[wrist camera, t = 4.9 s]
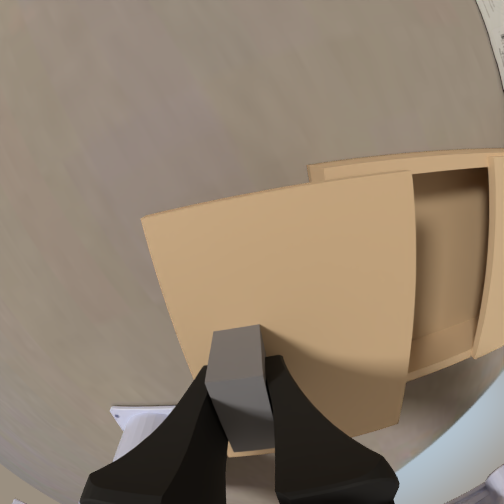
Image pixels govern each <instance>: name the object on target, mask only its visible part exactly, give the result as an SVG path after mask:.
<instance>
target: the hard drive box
mask: <svg viewBox="0 0 504 504" xmlns="http://www.w3.org/2000/svg"><path fill="white" fill-rule="evenodd" d="M476 2H477V4H478V7H479V9H480V12H481V14H482V17H483V19H484V22H485V25H486V28H487V31H488V34H489V37H490V42H491V45H492V48H493V52H494V55H495V58H496V61H497V64H498V68H499V72H500V76H501V80H502V85H503V89H504V0H476Z"/></svg>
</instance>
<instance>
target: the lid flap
mask: <svg viewBox="0 0 504 504" xmlns="http://www.w3.org/2000/svg"><path fill="white" fill-rule="evenodd" d="M141 222H142V226H143V229H144V233H145V237H146V240H147V244H148V247H149V251H150V254H151V258H152V261H153V264H154V268H155V271H156V274H157V278H158V281H159V284H160V287H161V290H162V293H163V296H164V299H165V302H166V305H167V308H168V311H169V314H170V317H171V320H172V323H173V326H174V329H175V331H176V334H177V337H178V340H179V342H180V345H181V348H182V350H183V353H184V356H185V358H186V361H187V363H188V366H189V369H190V371H191V374H192V376H193V379H195V378H196V376H197V374H198V373H199V371H200V370H201V368H202V367H203V366H204V365H208V366H207V371H206V377H205V385H206V388H207V390H208V393H209V395H210V398H211V400H212V403H213V405H214V408H215V410H216V412H217V415H218V417H219V420H220V422H221V424H222V427H223V429H224V431H225V434H226V436H227V438H228V440H229V441H228V450H227V455H228V457H240V456H251V455H260V454H268V453H275V437H274V418H273V407H272V401H271V397H270V393H269V388H268V384H267V379H266V374H265V357H268V356H274V355H281V356H283V359H284V362H285V364H286V366H287V368H288V370H289V372H290V374H291V376H292V377H293V379H294V380H295V382H296V383H297V385H298V386H299V388H300V389H301V390H302V392H303V393H304V394H305V396H306V397H307V398H308V399H309V400H310V402H311V403H312V404H313V405H314V406H315V407H316V408H317V409H318V410H319V411H320V412H321V413H322V414H323V415H324V416H325V417H326V418H327V419H328V420H329V421H330V422H331V423H332V424H334V425H335V426H336V427H337V428H339V429H340V430H341V431H343V432H344V433H345V434H347V435H348V436H349V437H355V436H359V435H362V434H366V433H370V432H373V431H376V430H380V429H383V428H386V427H389V426H392V425H395V424H398V422H399V417H400V412H401V407H402V402H403V397H404V391H405V385H406V379H407V373H408V366H409V358H410V350H411V342H412V332H413V320H414V307H415V287H416V224H415V204H414V190H413V179H412V171H410V170H397V171H388V172H380V173H373V174H365V175H358V176H350V177H343V178H337V179H330V180H323V181H317V182H311V183H305V184H299V185H293V186H287V187H281V188H275V189H270V190H264V191H259V192H254V193H248V194H243V195H238V196H233V197H228V198H223V199H218V200H213V201H208V202H204V203H199V204H194V205H190V206H185V207H181V208H176V209H172V210H168V211H163V212H159V213H155V214H151V215H146V216H145V217H143V218H142V219H141Z"/></svg>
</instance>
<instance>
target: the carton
mask: <svg viewBox="0 0 504 504" xmlns="http://www.w3.org/2000/svg"><path fill="white" fill-rule="evenodd" d="M397 170H410V171H412V179H413V190H414V204H415V224H416V287H415V307H414V320H413V332H412V342H411V350H410V358H409V366H408V373H407V379H406V382H408V381H411V380H413V379H416V378H419V377H422V376H425V375H427V374H430V373H433V372H435V371H438V370H441V369H443V368H446V367H448V366H451V365H453V364H455V363H458V362H460V361H463V360H465V359H467V358H469V357H473V358H474V359H477V358H479V357H481V356H484V355H486V354H488V353H490V352H492V351H494V350H496V349H498V348H500V347H502V346H504V148H482V149H456V150H439V151H424V152H411V153H400V154H390V155H380V156H371V157H362V158H354V159H346V160H338V161H331V162H324V163H317V164H310V165H307V171H308V177H309V183H311V182H317V181H323V180H330V179H337V178H343V177H350V176H358V175H365V174H373V173H380V172H388V171H397Z"/></svg>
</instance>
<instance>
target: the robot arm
mask: <svg viewBox="0 0 504 504" xmlns="http://www.w3.org/2000/svg"><path fill="white" fill-rule="evenodd" d="M207 366H208V365H204V366H203V367H202V368H201V370H200V371H199V373H198V374H197V376H196V378H195V379H194V381H193V382H192V384H191V385H190V387H189V388H188V390H187V391H186V393H185V394H184V396H183V397H182V398H181V400H180V401H179V403H178V404H177V405H176V406H140V407H129V406H112V407H111V409H110V412H111V414H112V415H113V417H114V418H115V420H116V421H117V423H118V424H119V426H120V427H121V429H122V430H123V431H124V432H123V435H122V437H121V440H120V443H119V445H118V448H117V451H116V454H115V456H114V459H113V462H112V463H111V464H109V465H107V466H105V467H103V468H101V469H99V470H97V471H95V472H93V473H91V474H90V475H89V477H88V480H87V482H86V485H85V487H84V490H83V493H82V495H81V498H80V501H79V503H78V504H226V480H225V471H226V459H227V450H228V441H229V440H228V438H227V436H226V434H225V431H224V429H223V427H222V424H221V422H220V420H219V417H218V415H217V412H216V410H215V408H214V405H213V403H212V400H211V398H210V395H209V393H208V390H207V388H206V385H205V377H206V371H207ZM265 374H266V379H267V384H268V388H269V393H270V397H271V401H272V407H273V418H274V437H275V492H276V495H277V497H278V500H279V503H280V504H395V503H394V500H393V499H394V497H395V495H396V492H397V490H398V488H399V481H398V478H397V476H396V474H395V472H394V471H393V469H392V468H391V466H390V465H389V463H388V462H387V461H386V460H385V458H384V457H383V456H382V455H380V454H378V453H376V452H374V451H372V450H370V449H368V448H367V447H365V446H363V445H362V444H360V443H358V442H357V441H355V440H354V439H352V438H351V437H349V436H348V435H347V434H345V433H344V432H343V431H341V430H340V429H339V428H337V427H336V426H335V425H334V424H332V423H331V422H330V421H329V420H328V419H327V418H326V417H325V416H324V415H323V414H322V413H321V412H320V411H319V410H318V409H317V408H316V407H315V406H314V405H313V404H312V403H311V402H310V400H309V399H308V398H307V397H306V396H305V394H304V393H303V392H302V390H301V389H300V388H299V386H298V385H297V383H296V382H295V380H294V379H293V377H292V376H291V374H290V372H289V370H288V368H287V366H286V364H285V362H284V359H283V356H281V355H274V356H268V357H265ZM12 504H26V503H24V502H22V501H19V500H18V499H14V501H13V503H12ZM445 504H504V464H502V465H501V466H500V467H498V468H497V469H495V470H494V471H493V472H492V473H491V474H490V475H489V476H488V477H487V479H486V480H485V482H484V483H482V484H480V485H479V486H477V487H475V488H474V489H472V490H470V491H468V492H466V493H464V494H463V495H461V496H459V497H457V498H455V499H453V500H451V501H449V502H447V503H445Z"/></svg>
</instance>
